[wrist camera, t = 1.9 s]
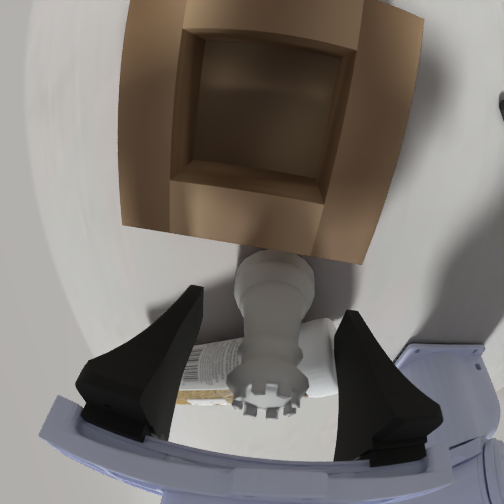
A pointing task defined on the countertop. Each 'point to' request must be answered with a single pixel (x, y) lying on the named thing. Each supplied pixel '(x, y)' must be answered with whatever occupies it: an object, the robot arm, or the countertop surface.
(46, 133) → the countertop surface
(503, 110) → the chef's knife
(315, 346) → the sprinkles bottle
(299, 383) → the rook chess piece
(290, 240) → the bore block
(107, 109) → the countertop surface
